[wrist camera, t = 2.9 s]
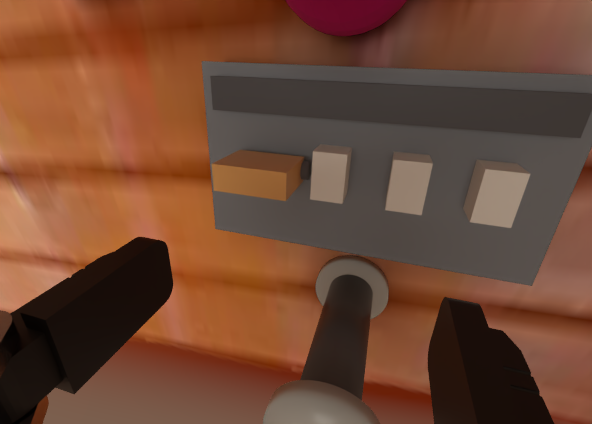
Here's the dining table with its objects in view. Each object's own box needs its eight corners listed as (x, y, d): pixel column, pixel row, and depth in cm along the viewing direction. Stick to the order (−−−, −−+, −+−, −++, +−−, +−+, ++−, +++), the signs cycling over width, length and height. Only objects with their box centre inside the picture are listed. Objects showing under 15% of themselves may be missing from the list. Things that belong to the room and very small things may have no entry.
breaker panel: (587, 75, 17) (653, 76, 13) (515, 260, 22) (545, 307, 18) (224, 62, 23) (182, 60, 18) (232, 213, 28) (201, 240, 23)
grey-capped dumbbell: (394, 262, 25) (391, 422, 14) (382, 320, 27) (372, 495, 16) (320, 249, 26) (262, 383, 15) (316, 305, 29) (263, 456, 18)
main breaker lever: (311, 155, 20) (293, 173, 16) (310, 179, 21) (292, 202, 17) (237, 147, 21) (205, 162, 18) (238, 170, 22) (207, 189, 18)
